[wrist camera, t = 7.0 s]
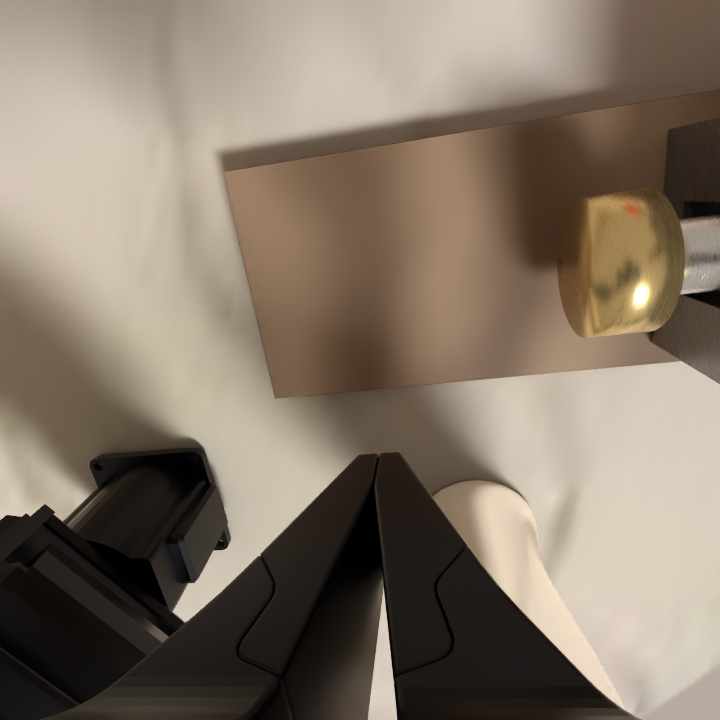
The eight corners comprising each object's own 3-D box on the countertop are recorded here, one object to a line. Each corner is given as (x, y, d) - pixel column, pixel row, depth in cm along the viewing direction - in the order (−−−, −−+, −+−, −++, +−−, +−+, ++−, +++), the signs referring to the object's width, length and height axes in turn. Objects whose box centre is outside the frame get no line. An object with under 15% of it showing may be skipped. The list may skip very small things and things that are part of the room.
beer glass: (414, 467, 23) (430, 899, 9) (553, 476, 22) (804, 953, 8) (407, 570, 25) (411, 1035, 11) (532, 581, 25) (698, 1084, 11)
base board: (280, 389, 22) (275, 398, 21) (232, 173, 19) (223, 172, 18) (773, 342, 19) (793, 350, 18) (823, 75, 16) (850, 67, 15)
